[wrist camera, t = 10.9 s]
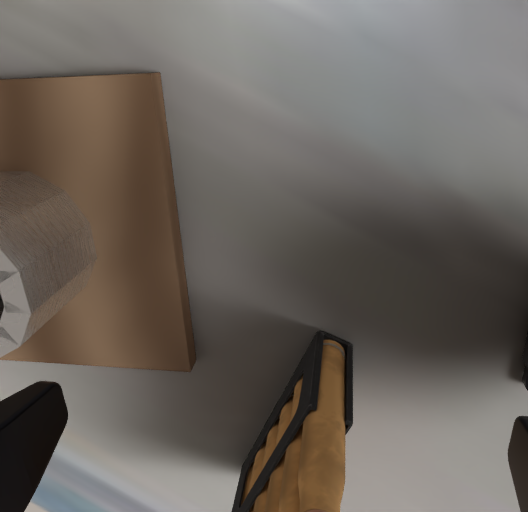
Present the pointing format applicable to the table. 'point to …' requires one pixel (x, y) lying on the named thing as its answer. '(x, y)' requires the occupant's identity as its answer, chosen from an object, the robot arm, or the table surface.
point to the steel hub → (38, 254)
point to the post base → (107, 216)
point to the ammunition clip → (304, 437)
